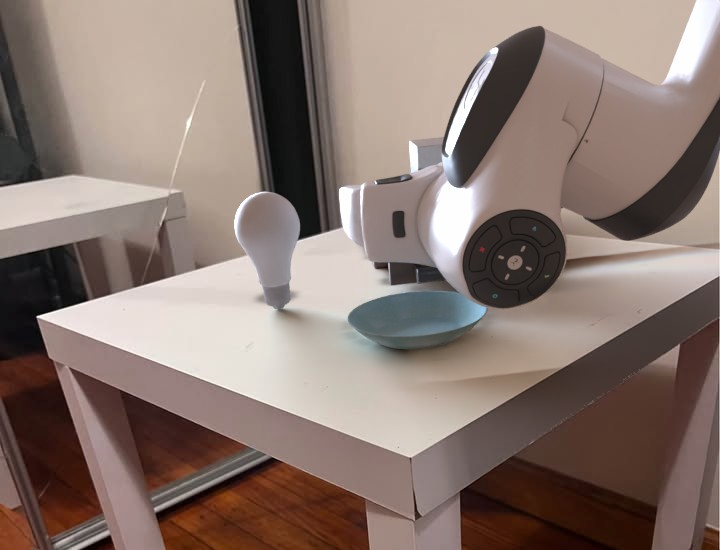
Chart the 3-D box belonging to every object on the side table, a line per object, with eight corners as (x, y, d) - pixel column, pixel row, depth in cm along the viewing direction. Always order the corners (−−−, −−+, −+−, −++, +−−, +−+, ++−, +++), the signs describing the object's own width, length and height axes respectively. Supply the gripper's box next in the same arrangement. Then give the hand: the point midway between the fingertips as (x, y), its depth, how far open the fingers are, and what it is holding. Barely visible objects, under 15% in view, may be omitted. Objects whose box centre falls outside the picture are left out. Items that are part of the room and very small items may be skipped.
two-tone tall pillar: (450, 246, 83) (448, 136, 77) (460, 258, 79) (458, 142, 73) (414, 250, 83) (409, 140, 77) (421, 262, 79) (416, 146, 73)
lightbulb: (295, 320, 72) (278, 198, 67) (237, 318, 74) (217, 200, 69) (319, 299, 77) (305, 184, 72) (264, 298, 79) (247, 186, 74)
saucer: (321, 346, 66) (318, 320, 65) (407, 306, 73) (406, 282, 72) (431, 373, 59) (430, 345, 58) (514, 326, 66) (514, 300, 65)
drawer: (513, 284, 73) (514, 243, 71) (396, 297, 73) (393, 257, 71) (473, 241, 88) (473, 207, 86) (375, 252, 88) (373, 218, 86)
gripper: (587, 161, 64) (538, 140, 76) (343, 187, 63) (332, 162, 75) (583, 238, 67) (536, 207, 79) (350, 264, 66) (339, 229, 78)
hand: (435, 185), depth 77 cm, fingers open, 8 cm apart
